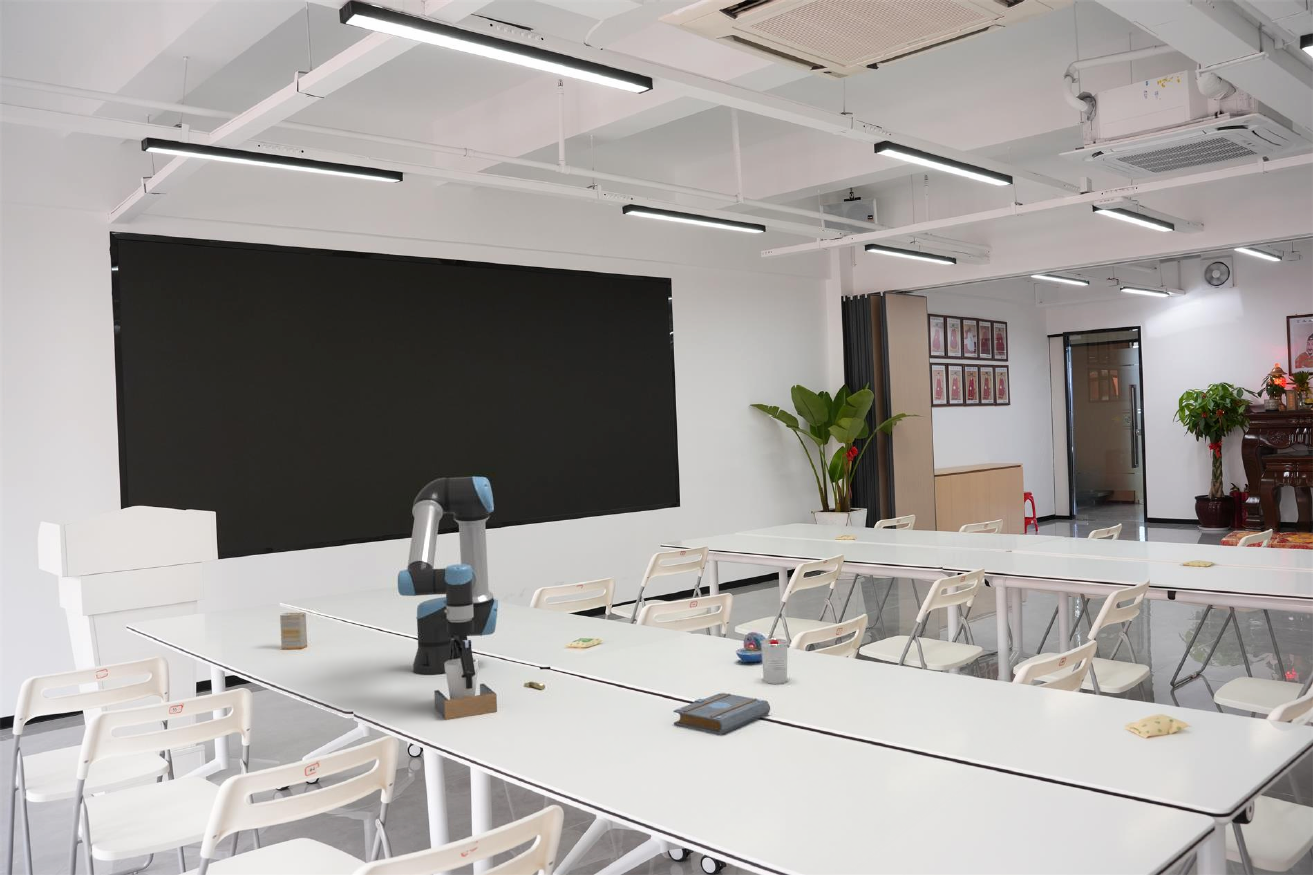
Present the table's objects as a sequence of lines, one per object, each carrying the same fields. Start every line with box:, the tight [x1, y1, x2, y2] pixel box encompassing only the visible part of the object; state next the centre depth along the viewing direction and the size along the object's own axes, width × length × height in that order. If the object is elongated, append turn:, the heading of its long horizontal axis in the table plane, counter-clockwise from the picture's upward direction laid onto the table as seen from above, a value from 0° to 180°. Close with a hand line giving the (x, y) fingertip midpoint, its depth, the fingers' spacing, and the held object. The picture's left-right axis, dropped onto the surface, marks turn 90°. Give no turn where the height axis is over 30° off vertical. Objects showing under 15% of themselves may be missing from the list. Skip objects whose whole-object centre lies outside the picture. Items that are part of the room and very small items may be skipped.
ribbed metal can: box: [758, 638, 791, 685], centre depth 294 cm, size 10×8×12 cm
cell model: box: [735, 631, 767, 663], centre depth 319 cm, size 10×12×10 cm
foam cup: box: [445, 657, 479, 700], centre depth 276 cm, size 10×9×13 cm
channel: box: [433, 683, 498, 721], centre depth 273 cm, size 13×14×5 cm
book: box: [673, 692, 771, 736], centre depth 256 cm, size 21×16×5 cm
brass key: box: [523, 681, 546, 691], centre depth 295 cm, size 8×2×2 cm, turn 45°
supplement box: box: [279, 612, 308, 650], centre depth 366 cm, size 8×5×13 cm, turn 84°
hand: (462, 694), depth 276 cm, fingers open, 13 cm apart
